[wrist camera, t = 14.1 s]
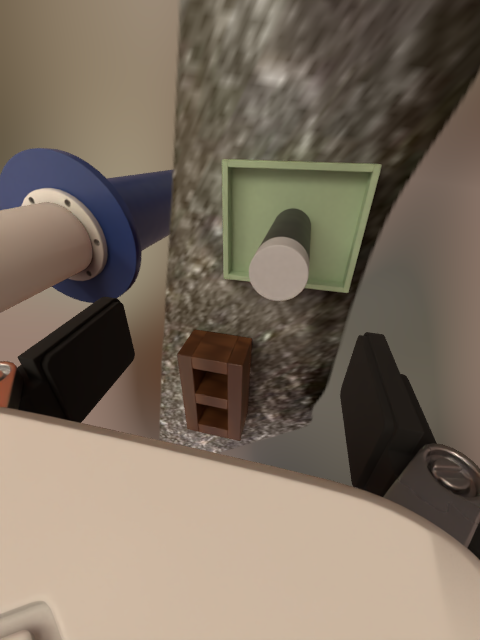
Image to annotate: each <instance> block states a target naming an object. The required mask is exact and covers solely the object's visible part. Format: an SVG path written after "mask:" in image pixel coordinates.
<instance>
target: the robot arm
mask: <svg viewBox="0 0 480 640" xmlns="http://www.w3.org/2000/svg"><path fill="white" fill-rule="evenodd" d="M107 256H108V253H107V244H106V239H105V236H104V233H103V231H102V229H101V227H100V225H99V223H98V221H97V220H96V218H95V217H94V215H93V214H92V213H91V211H90V210H89V209H88V208H87V207H86V206H85V205H84V204H83V203H82V202H80V201H79V200H78V199H77V198H75V197H74V196H72V195H70V194H69V193H67V192H64V191H62V190H59V189H54V188H42V189H37V190H34V191H32V192H31V193H29V194H28V195H27V196H26V197H25V198H24V201H23V203H22V206H21V207H17V208H11V209H6V210H1V211H0V313H1V312H3V311H5V310H7V309H9V308H11V307H13V306H15V305H16V304H18V303H20V302H22V301H24V300H26V299H28V298H30V297H32V296H34V295H36V294H38V293H40V292H42V291H44V290H45V289H47V288H49V287H51V286H53V285H55V284H57V283H59V282H61V281H63V280H65V279H67V278H68V279H71V280H76V281H85V280H89V279H91V278H93V277H95V276H97V275H98V274H100V273H101V271H102V270H103V269H104V267H105V265H106V262H107ZM134 356H135V353H134V348H133V344H132V340H131V336H130V331H129V327H128V323H127V318H126V314H125V310H124V306H123V304H122V303H121V302H120V301H119V300H118V299H117V298H109V297H102V298H100V299H99V300H97V301H96V302H94V303H93V304H92V305H90V306H89V307H88V308H86V309H85V310H83V311H82V312H80V313H79V314H78V315H76V316H75V317H73V318H72V319H71V320H69V321H68V322H66V323H65V324H63V325H62V326H61V327H59V328H58V329H56V330H55V331H54V332H52V333H51V334H49V335H48V336H47V337H45V338H44V339H42V340H41V341H39V342H38V343H37V344H35V345H34V346H32V347H31V348H30V349H28V350H27V351H25V352H24V353H22V354H21V355H20V356H18V359H19V361H20V363H21V365H20V366H19V367H18V368H17V367H16V365H15V364H14V363H12V362H8V361H0V640H480V469H479V467H478V466H477V465H476V464H475V463H474V462H473V461H472V460H470V459H469V458H468V457H467V456H465V455H464V454H462V453H461V452H459V451H457V450H455V449H453V448H451V447H448V446H445V445H443V444H437V443H436V441H435V439H434V437H433V434H432V432H431V430H430V428H429V425H428V423H427V421H426V418H425V416H424V414H423V411H422V409H421V407H420V405H419V402H418V400H417V398H416V396H415V394H414V391H413V389H412V387H411V384H410V382H409V380H408V378H407V377H406V376H405V375H403V374H400V372H399V370H398V368H397V366H396V363H395V360H394V358H393V355H392V353H391V351H390V348H389V346H388V343H387V341H386V339H385V336H384V335H382V334H375V333H368V332H366V333H365V334H364V336H361V335H359V336H358V339H357V341H356V345H355V347H354V351H353V354H352V357H351V360H350V363H349V366H348V369H347V372H346V375H345V378H344V381H343V384H342V388H341V395H340V397H341V405H342V413H343V420H344V427H345V435H346V443H347V450H348V458H349V465H350V473H351V481H352V485H353V487H352V486H348V485H344V484H341V483H338V482H334V481H331V480H326V479H323V478H318V477H315V476H310V475H306V474H302V473H298V472H294V471H290V470H286V469H282V468H278V467H274V466H269V465H265V464H261V463H256V462H252V461H247V460H243V459H239V458H235V457H230V456H226V455H221V454H217V453H213V452H209V451H204V450H200V449H195V448H191V447H187V446H182V445H178V444H173V443H169V442H164V441H160V440H155V439H151V438H146V437H142V436H137V435H133V434H128V433H124V432H119V431H115V430H111V429H106V428H101V427H96V426H92V425H88V424H83V423H81V422H82V421H83V420H84V419H85V417H86V416H87V415H88V414H89V413H90V412H91V410H92V409H93V408H94V407H95V406H96V404H97V403H98V402H99V401H100V400H101V398H102V397H103V396H104V395H105V393H106V392H107V391H108V390H109V389H110V388H111V386H112V385H113V384H114V383H115V382H116V380H117V379H118V378H119V377H120V376H121V374H122V373H123V372H124V371H125V370H126V368H127V367H128V366H129V365H130V364H131V362H132V361H133V359H134ZM355 487H356V488H355Z"/></svg>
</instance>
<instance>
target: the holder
mask: <svg viewBox="0 0 480 640" xmlns="http://www.w3.org/2000/svg"><path fill="white" fill-rule="evenodd" d="M251 348H252V338H246V337H240V336H239V337H238V336H234V335H228V334H221V333H215V332H208V331H207V332H206V331H201V330H193V332H192V333H191V335H190V336H189V338H188V339H187V341H186V342H185V344H184V345H183V347H182V348H181V350H180V351H179V353H178V354H177V357H178V364H179V371H180V378H181V386H182V393H183V400H184V407H185V415H186V422H187V429H190V430H194V431H199V432H202V433H207V434H211V435H216V436H220V437H224V438H229V439H233V440H238V441H240V440H241V436H242V432H243V429H244V425H245V421H246V417H247V413H248V403H249V385H250V367H251Z"/></svg>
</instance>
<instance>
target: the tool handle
mask: <svg viewBox="0 0 480 640" xmlns="http://www.w3.org/2000/svg"><path fill="white" fill-rule="evenodd" d="M310 239H311V222H310V219H309V217H308V216H307V215H306V213H304V212H303V211H301V210H299V209H295V208H291V209H287V210H284V211H282V212H281V213H280V214H279V215H278V216H277V217H276V219H275V221H274V222H273V224H272V226H271V228H270V229H269V231H268V233H267V234H266V236H265V238H264V240H263V241H262V243H261V245H260V247H259V248H258V250H257V252H256V254H255V255H254V257H253V259H252V260H251V263H250V266H249V279H250V282H251V284H252V286H253V288H254V289H255V290H256V291H257V292H258V293H259V294H260V295H261V296H263V297H265V298H267V299H270V300H274V301H284V300H289V299H291V298H293V297H295V296H297V295H298V294H299V293H300V292H301V291H302V290H303V289H304V288H305V286H306V284H307V281H308V276H309V258H310Z"/></svg>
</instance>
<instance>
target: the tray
mask: <svg viewBox="0 0 480 640" xmlns="http://www.w3.org/2000/svg"><path fill="white" fill-rule="evenodd" d="M381 166H382V165H380V164H368V163H335V162H303V161H270V160H238V159H225V160H222V202H223V272H224V279H231V280H240V281H248V282H250V279H249V266H250V263H251V260H252V259H253V257H254V255H255V254H256V252H257V250H258V248H259V247H260V245H261V243H262V241H263V240H264V238H265V236H266V234H267V233H268V231H269V229H270V228H271V226H272V224H273V222H274V221H275V219H276V217H277V216H278V215H279V214H280V213H281V212H282V211H284V210H287V209H291V208H295V209H299V210H301V211H303V212H304V213H306V215H307V216H308V217H309V219H310V222H311V239H310V258H309V276H308V281H307V284H306V286H305V288H309V289H317V290H326V291H335V292H343V293H348V292H349V288H350V284H351V280H352V276H353V273H354V269H355V265H356V261H357V257H358V254H359V250H360V246H361V242H362V238H363V235H364V231H365V227H366V223H367V220H368V216H369V212H370V208H371V204H372V201H373V197H374V193H375V189H376V185H377V182H378V178H379V174H380V170H381Z"/></svg>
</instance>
